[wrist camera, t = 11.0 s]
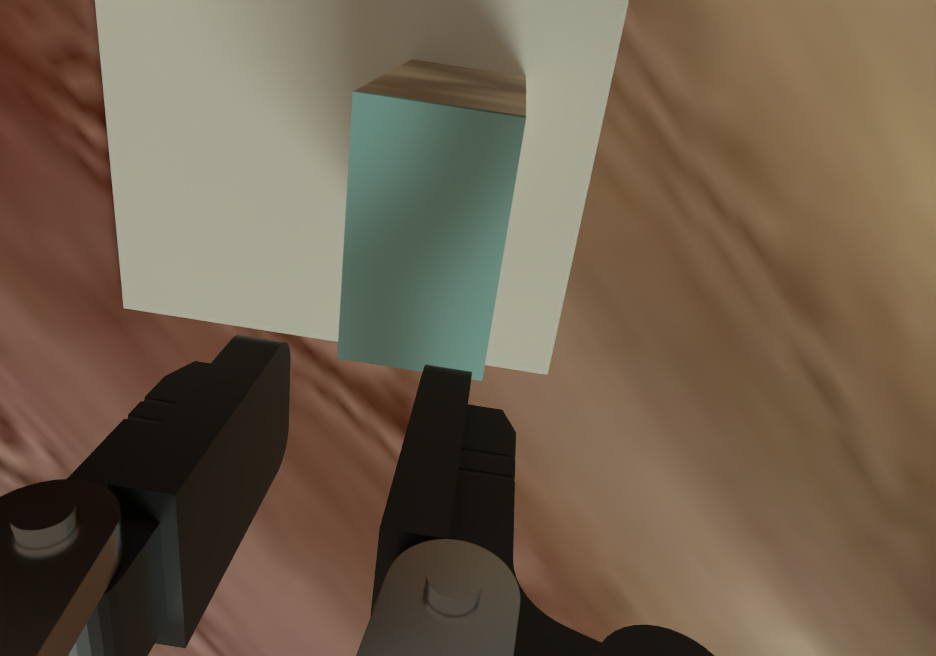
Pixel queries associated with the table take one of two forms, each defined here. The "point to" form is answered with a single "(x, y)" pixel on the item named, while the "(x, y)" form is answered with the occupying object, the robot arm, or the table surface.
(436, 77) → the block
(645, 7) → the table surface
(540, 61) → the mat
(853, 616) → the table surface
